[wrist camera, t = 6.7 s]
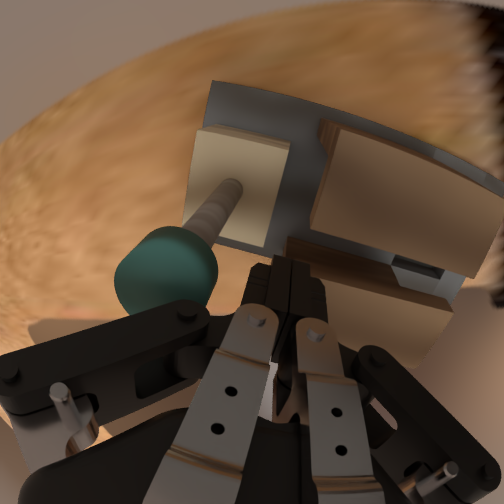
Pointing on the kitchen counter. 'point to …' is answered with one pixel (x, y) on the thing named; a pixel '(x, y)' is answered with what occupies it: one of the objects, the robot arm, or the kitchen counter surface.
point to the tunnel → (369, 217)
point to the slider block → (206, 218)
